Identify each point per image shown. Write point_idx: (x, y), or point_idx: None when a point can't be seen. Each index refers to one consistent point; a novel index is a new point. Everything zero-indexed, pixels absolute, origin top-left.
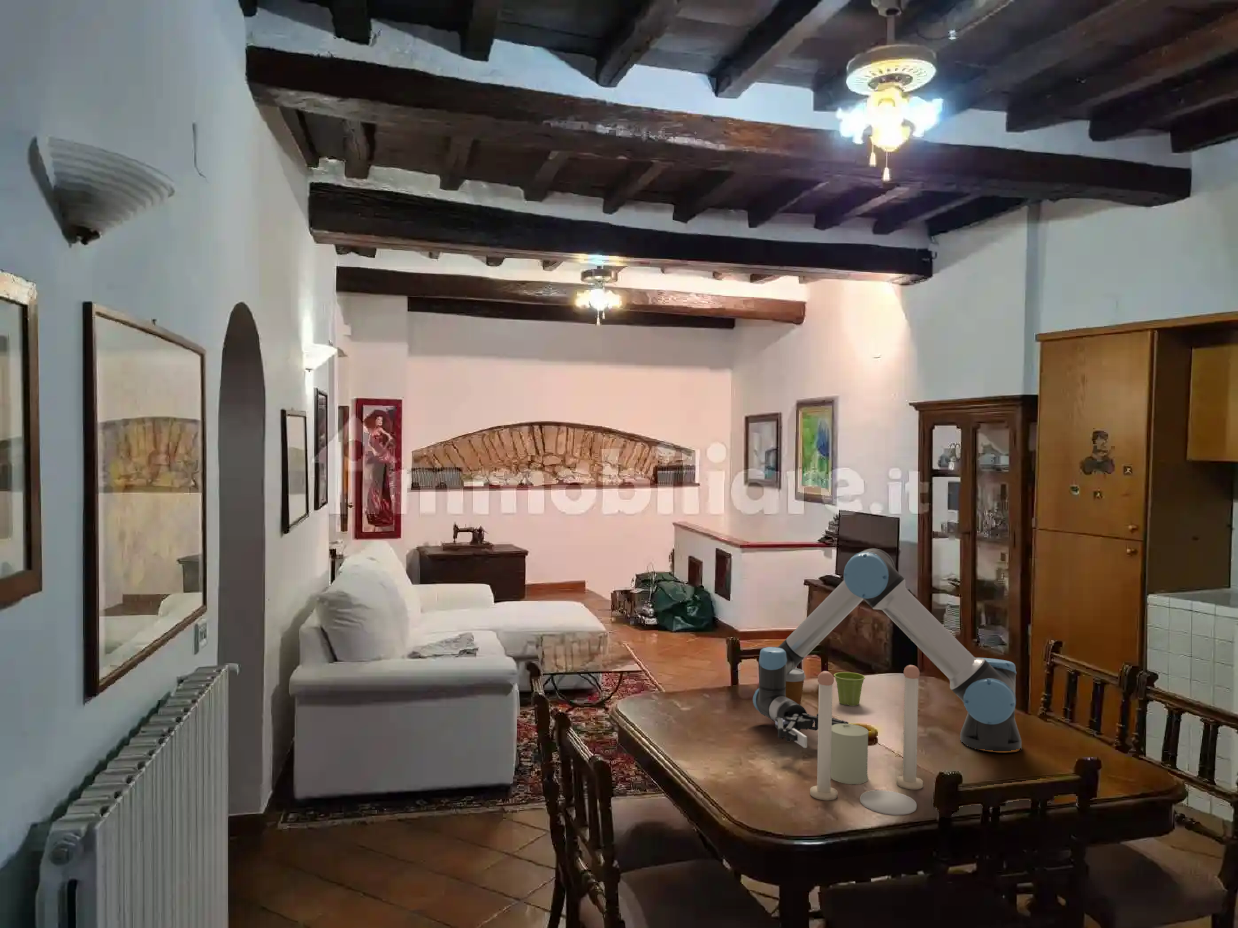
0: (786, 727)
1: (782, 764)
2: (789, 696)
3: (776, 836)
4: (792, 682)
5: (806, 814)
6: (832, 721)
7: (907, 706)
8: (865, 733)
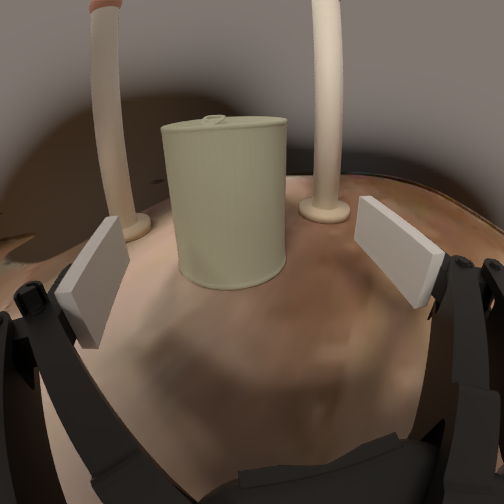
0: (476, 276)
1: (421, 327)
2: None
3: (389, 177)
4: None
5: (358, 190)
6: (43, 361)
7: (118, 63)
8: (194, 121)
